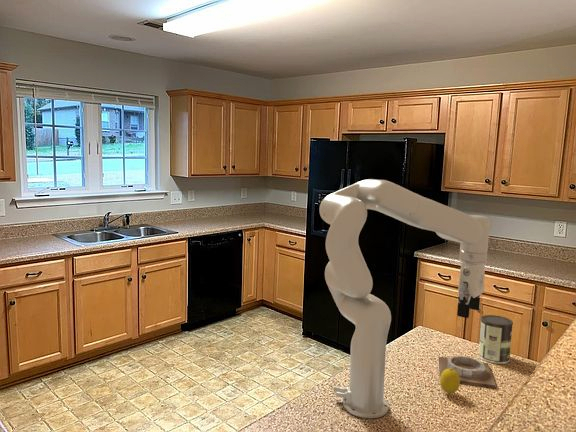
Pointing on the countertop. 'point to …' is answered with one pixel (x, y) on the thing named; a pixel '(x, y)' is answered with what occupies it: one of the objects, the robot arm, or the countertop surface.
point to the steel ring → (468, 361)
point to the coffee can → (495, 339)
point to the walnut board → (482, 381)
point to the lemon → (449, 381)
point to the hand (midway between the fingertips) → (468, 312)
